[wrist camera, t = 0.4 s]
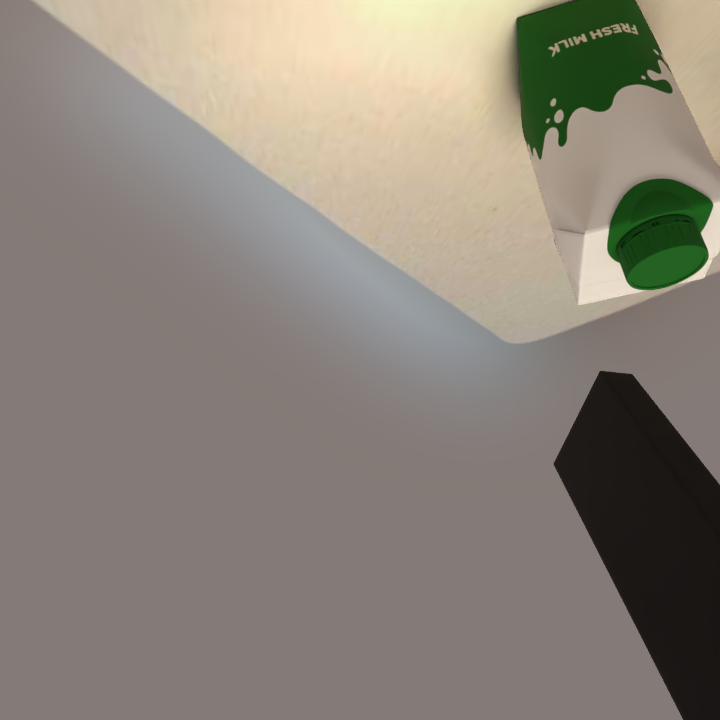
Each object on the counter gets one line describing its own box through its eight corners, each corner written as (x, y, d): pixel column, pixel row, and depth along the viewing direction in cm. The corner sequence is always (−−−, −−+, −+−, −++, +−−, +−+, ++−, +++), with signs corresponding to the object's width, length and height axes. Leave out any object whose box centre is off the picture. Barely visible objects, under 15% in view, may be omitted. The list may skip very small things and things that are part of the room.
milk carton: (644, -36, 37) (775, 219, 28) (627, 82, 45) (725, 311, 36) (501, 9, 39) (582, 264, 30) (508, 116, 47) (574, 342, 38)
